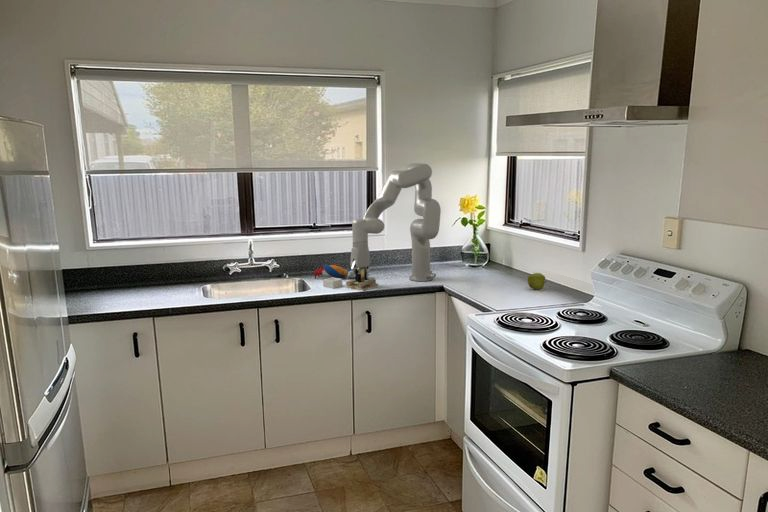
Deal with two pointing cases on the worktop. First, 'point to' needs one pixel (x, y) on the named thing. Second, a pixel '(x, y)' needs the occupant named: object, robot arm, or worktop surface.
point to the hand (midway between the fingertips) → (361, 280)
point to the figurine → (336, 272)
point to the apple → (536, 281)
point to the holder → (332, 282)
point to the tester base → (361, 284)
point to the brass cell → (362, 275)
